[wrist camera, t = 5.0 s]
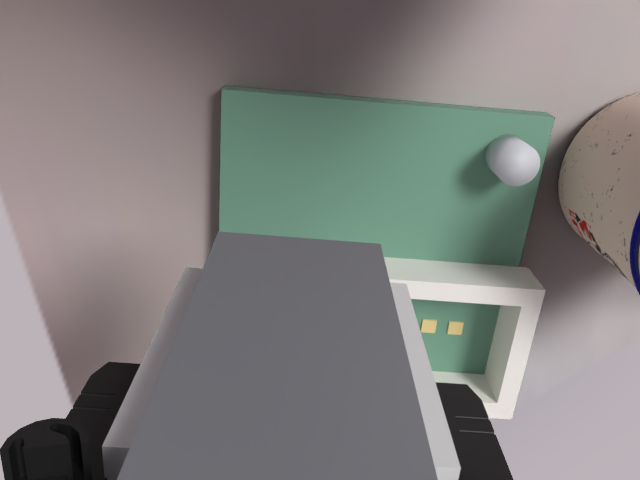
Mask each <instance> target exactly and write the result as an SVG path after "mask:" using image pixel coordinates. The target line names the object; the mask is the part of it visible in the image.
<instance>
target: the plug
mask: <svg viewBox="0 0 640 480" xmlns="http://www.w3.org/2000/svg"><path fill="white" fill-rule="evenodd" d="M117 480H438V479H437V474H436V470H435V466H434V462H433V458H432V454H431V450H430V446H429V441H428V437H427V433H426V429H425V425H424V421H423V417H422V413H421V408H420V404H419V400H418V396H417V392H416V388H415V384H414V380H413V376H412V371H411V367H410V363H409V359H408V355H407V351H406V347H405V343H404V338H403V334H402V330H401V326H400V322H399V318H398V314H397V310H396V305H395V301H394V297H393V293H392V289H391V285H390V281H389V277H388V272H387V268H386V264H385V260H384V256H383V252H382V248H381V244H378V243H364V242H351V241H338V240H325V239H311V238H298V237H285V236H271V235H258V234H245V233H232V232H218V233H217V236H216V238H215V240H214V243H213V245H212V248H211V250H210V253H209V255H208V258H207V260H206V263H205V265H204V267H203V270H202V272H201V275H200V277H199V280H198V282H197V285H196V287H195V289H194V292H193V294H192V297H191V299H190V302H189V304H188V307H187V309H186V311H185V314H184V316H183V319H182V321H181V324H180V326H179V329H178V331H177V333H176V336H175V338H174V341H173V343H172V346H171V348H170V351H169V353H168V356H167V358H166V360H165V363H164V365H163V368H162V370H161V373H160V375H159V378H158V380H157V382H156V385H155V387H154V390H153V392H152V395H151V397H150V400H149V402H148V404H147V407H146V409H145V412H144V414H143V417H142V419H141V422H140V424H139V426H138V429H137V431H136V434H135V436H134V439H133V441H132V444H131V446H130V449H129V451H128V453H127V456H126V458H125V461H124V463H123V466H122V468H121V471H120V473H119V475H118V478H117Z"/></svg>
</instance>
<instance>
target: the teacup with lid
mask: <svg viewBox="0 0 640 480" xmlns="http://www.w3.org/2000/svg"><path fill="white" fill-rule="evenodd" d="M558 192H559V200H560V205H561V208H562V211H563V213H564V216H565V218H566V219H567V221H568V223H569V224H570V226H571V227H572V228H573V229H574V231H575V232H576V233H577V234H578V235H579V236H581V237H582V238H583V239H584V240H585V241H586V242H587V243H588V244H589V245H590V246H591V247H593V248H594V249H595V250H596V251H597V252H598V253H599V254H600V255H601V256H602V257H603V258H605V259H606V260H607V261H608V262H609V263H610V264H611V265H612V266H613V267H614V268H615V269H617V270H618V271H619V272H620V273H621V274H622V275H623V276H624V277H625V278H626V279H627V280H629V281H630V282H631V283H632V284H633V285H634V286H635V287H636V288H637V290H638V292H639V294H640V93H636V94H633V95H630V96H627V97H624V98H622V99H620V100H618V101H616V102H614V103H612V104H610V105H609V106H607V107H606V108H604V109H602V110H601V111H600V112H598V113H597V114H596V115H595V116H593V117H592V118H591V119H590V120H589V121H588V122H587V123H586V124H585V125H584V126H583V127H582V128H581V130H580V131H579V132H578V134H577V135H576V136H575V138H574V139H573V141H572V142H571V144H570V146H569V148H568V150H567V152H566V154H565V156H564V159H563V162H562V165H561V169H560V174H559V181H558Z"/></svg>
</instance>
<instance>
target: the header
mask: <svg viewBox="0 0 640 480" xmlns="http://www.w3.org/2000/svg"><path fill="white" fill-rule="evenodd" d="M384 260H385V264H386V268H387V272H388V277H389V281H390V282H391V283H405V284H407V288H408V291H409V295H410V298H411V299H420V300H434V301H449V302H463V303H477V304H492V305H500V310H499V314H498V318H497V323H496V327H495V331H494V335H493V340H492V344H491V348H490V352H489V357H488V361H487V365H486V370H485V374H471V373H456V372H440V371H432V372H433V376H434V379H435V382H439V383H454V384H467V385H468V386H469V387H470V388H471V389H472V390H473V391H474V392H475V393H476V394H477V395H478V396H479V398H480V399H481V400H482V402H483V404H484V407H485V409H486V412H487V414H488V418H498V419H512V416H513V412H514V408H515V405H516V401H517V397H518V393H519V390H520V386H521V382H522V378H523V374H524V371H525V367H526V363H527V359H528V356H529V352H530V348H531V344H532V341H533V337H534V333H535V329H536V326H537V322H538V318H539V314H540V311H541V307H542V303H543V299H544V295H545V292H546V290H545V289H544V287H543V286H542V285H541V283H540V282H539V281H538V280H537V278H536V277H535V276H534V274H533V273H532V272H531V271H530V269H529V268H528V267H515V266H502V265H488V264H474V263H460V262H447V261H433V260H419V259H405V258H392V257H384ZM436 325H437V320H430V319H423V320H422V326H421V332H424V333H435V330H436ZM463 325H464V322H459V321H449V325H448V330H447V334H454V335H461V334H462V330H463Z"/></svg>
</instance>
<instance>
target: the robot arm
mask: <svg viewBox="0 0 640 480" xmlns="http://www.w3.org/2000/svg"><path fill="white" fill-rule="evenodd" d="M202 270H203V269H199V268H186V269H185V271H184V273H183V275H182V277H181V279H180V281H179V284H178V286H177V288H176V290H175V292H174V294H173V296H172V298H171V301H170V303H169V305H168V307H167V309H166V311H165V313H164V315H163V318H162V320H161V322H160V324H159V326H158V328H157V330H156V332H155V335H154V337H153V339H152V341H151V343H150V345H149V347H148V349H147V352H146V354H145V356H144V358H143V360H142V362H141V364H132V363H117V362H108V363H107V364H105V365H104V366H103V367H101V368H100V369H99V370H98V371H96V372H95V373H94V374H92V375H91V376H90V378H89V380H88V381H87V383H86V385H85V387H84V388H83V390H82V392H81V395H79V397H78V399H77V400H76V402H75V404H74V405H73V409H71V411H70V412H69V414H68V416H67V417H66V419H59V418H51V419H46V420H41V421H36V422H34V423H32V424H29V425H27V426H25V427H23V428H20V429H19V430H18V431H16V432H15V433H14V434H12V435H11V436H10V437H9V438H7V440H6V441H5V443H4V444H3V446H2V447H1V449H0V455H1V460H2V466H3V472H4V478H5V480H117V478H118V475H119V473H120V471H121V468H122V466H123V463H124V461H125V458H126V456H127V453H128V451H129V449H130V446H131V444H132V441H133V439H134V436H135V434H136V431H137V429H138V426H139V424H140V422H141V419H142V417H143V414H144V412H145V409H146V407H147V404H148V402H149V400H150V397H151V395H152V392H153V390H154V387H155V385H156V382H157V380H158V378H159V375H160V373H161V370H162V368H163V365H164V363H165V360H166V358H167V356H168V353H169V351H170V348H171V346H172V343H173V341H174V338H175V336H176V333H177V331H178V329H179V326H180V324H181V321H182V319H183V316H184V314H185V311H186V309H187V307H188V304H189V302H190V299H191V297H192V294H193V292H194V289H195V287H196V285H197V282H198V280H199V277H200V275H201V272H202ZM390 285H391V289H392V293H393V297H394V301H395V305H396V310H397V314H398V318H399V322H400V326H401V330H402V334H403V338H404V343H405V347H406V351H407V355H408V359H409V363H410V367H411V371H412V376H413V380H414V384H415V388H416V392H417V396H418V400H419V404H420V408H421V413H422V417H423V421H424V425H425V429H426V433H427V437H428V441H429V446H430V450H431V454H432V458H433V462H434V466H435V470H436V474H437V479H438V480H513V478H512V475H511V473H510V470H509V468H508V465H507V463H506V460H505V457H504V455H503V452H502V450H501V447H500V445H499V442H498V440H497V437H496V435H494V430H493V427H492V425H491V422H490V420H488V414H487V412H486V409H485V407H484V404H483V402H482V400H481V399H480V398H479V396H478V395H477V394H476V393H475V392H474V391H473V390H472V389H471V388H470V387H469V386H468V385H467V384H454V383H439V382H435V379H434V376H433V372H432V369H431V366H430V362H429V359H428V355H427V352H426V349H425V345H424V342H423V338H422V335H421V332H420V328H419V325H418V322H417V318H416V315H415V311H414V308H413V305H412V301H411V298H410V295H409V291H408V288H407V284H405V283H391V282H390Z"/></svg>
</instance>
